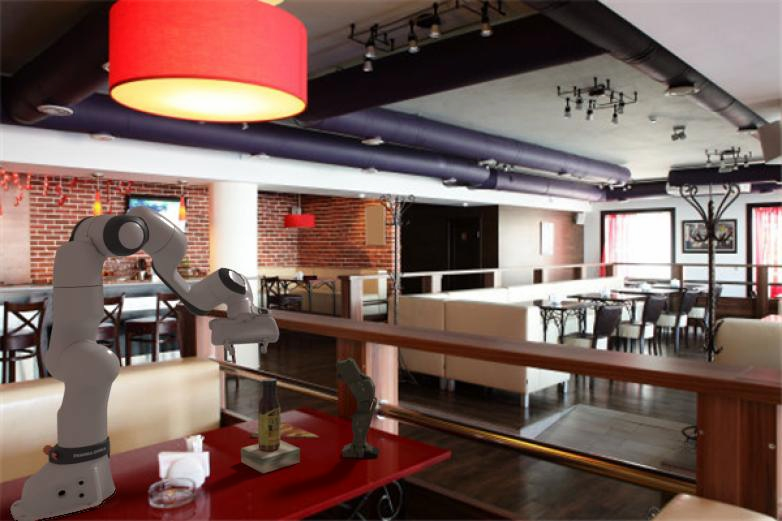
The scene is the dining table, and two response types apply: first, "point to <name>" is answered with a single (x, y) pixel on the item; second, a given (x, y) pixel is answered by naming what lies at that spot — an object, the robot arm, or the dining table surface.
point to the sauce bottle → (269, 417)
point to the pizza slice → (290, 431)
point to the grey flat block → (270, 457)
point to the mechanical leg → (359, 408)
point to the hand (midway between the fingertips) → (248, 353)
